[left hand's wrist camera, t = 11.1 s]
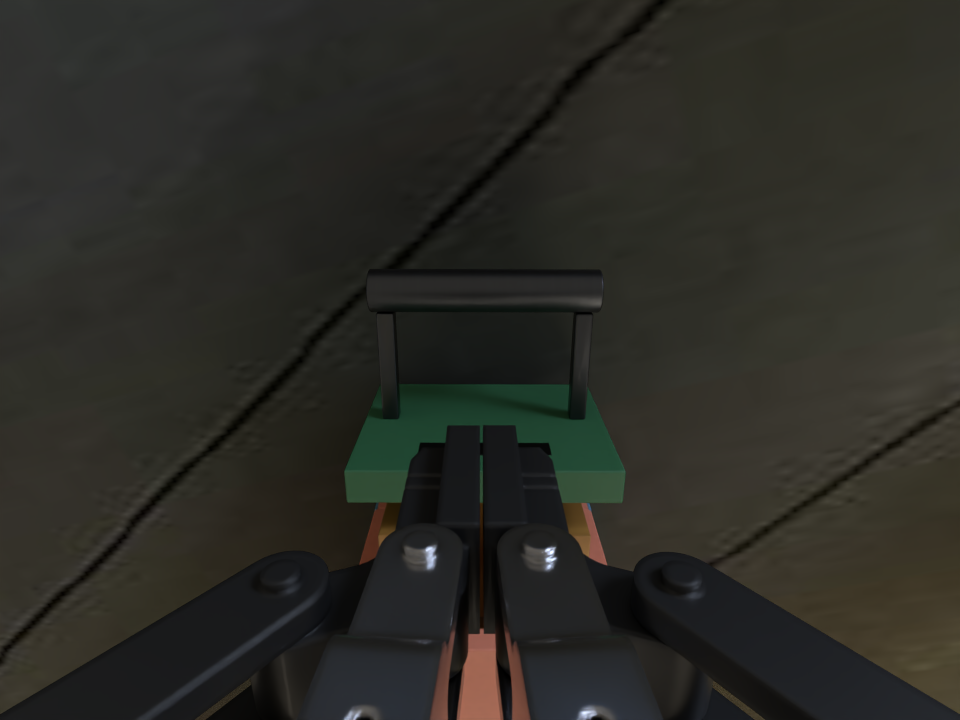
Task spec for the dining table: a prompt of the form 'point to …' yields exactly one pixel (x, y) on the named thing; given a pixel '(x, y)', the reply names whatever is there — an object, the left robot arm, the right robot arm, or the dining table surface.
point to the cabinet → (478, 635)
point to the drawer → (485, 392)
